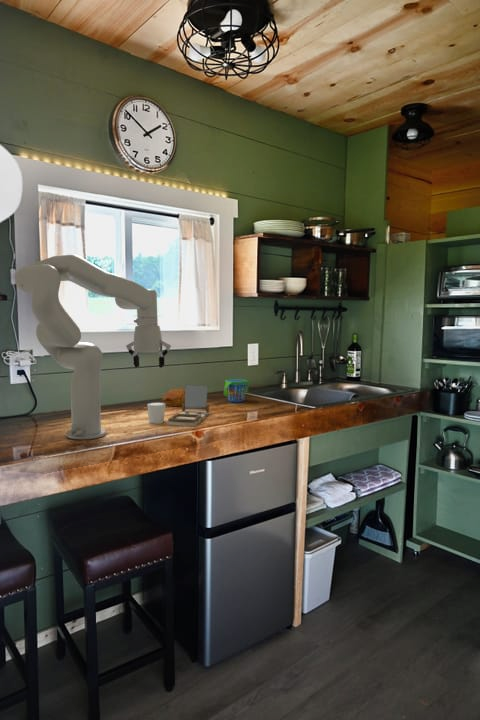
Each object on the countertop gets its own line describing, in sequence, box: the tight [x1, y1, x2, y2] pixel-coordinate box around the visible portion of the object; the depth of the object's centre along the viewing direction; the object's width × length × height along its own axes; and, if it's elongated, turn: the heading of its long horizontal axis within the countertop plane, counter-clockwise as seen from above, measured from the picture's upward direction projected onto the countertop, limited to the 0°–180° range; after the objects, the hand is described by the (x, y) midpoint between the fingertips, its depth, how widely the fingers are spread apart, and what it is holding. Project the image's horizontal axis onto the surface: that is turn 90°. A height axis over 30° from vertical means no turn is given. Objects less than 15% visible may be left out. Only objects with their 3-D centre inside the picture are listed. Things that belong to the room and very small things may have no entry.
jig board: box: [166, 404, 210, 427], centre depth 195 cm, size 22×11×4 cm, turn 170°
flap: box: [185, 385, 208, 411], centre depth 205 cm, size 10×9×1 cm
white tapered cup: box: [146, 402, 166, 424], centre depth 190 cm, size 7×7×7 cm
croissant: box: [161, 388, 186, 408], centre depth 227 cm, size 14×16×8 cm
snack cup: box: [223, 378, 249, 403], centre depth 234 cm, size 16×10×10 cm
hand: (149, 367), depth 189 cm, fingers open, 9 cm apart
